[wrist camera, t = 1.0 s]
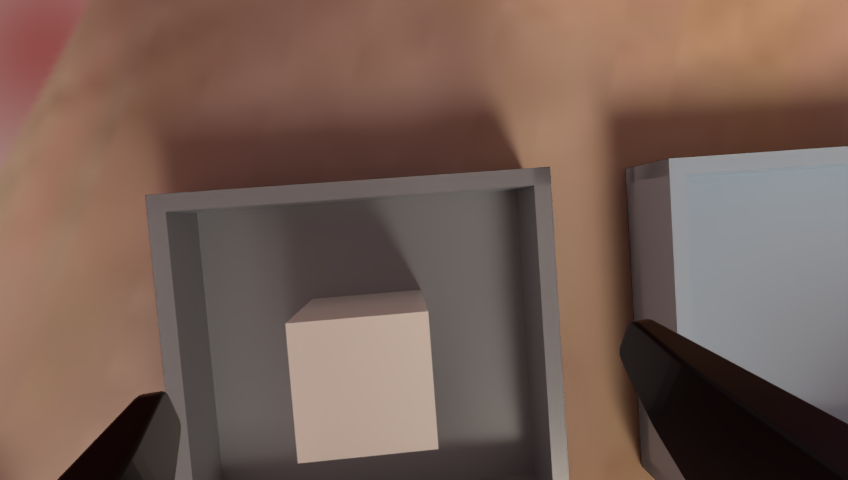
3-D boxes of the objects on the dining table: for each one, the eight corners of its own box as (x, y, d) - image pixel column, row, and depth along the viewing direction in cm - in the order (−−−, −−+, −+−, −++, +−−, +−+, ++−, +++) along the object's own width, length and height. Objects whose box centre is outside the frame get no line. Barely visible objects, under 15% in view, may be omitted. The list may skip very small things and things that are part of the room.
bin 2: (936, 434, 23) (1031, 471, 20) (641, 465, 23) (686, 510, 19) (930, 147, 23) (1026, 133, 19) (625, 168, 22) (668, 158, 18)
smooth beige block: (429, 395, 21) (438, 448, 16) (322, 405, 21) (297, 463, 16) (421, 289, 21) (428, 311, 16) (312, 298, 20) (285, 323, 15)
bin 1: (544, 476, 22) (571, 523, 19) (218, 511, 21) (183, 567, 18) (525, 175, 22) (549, 166, 18) (187, 199, 21) (145, 195, 17)
